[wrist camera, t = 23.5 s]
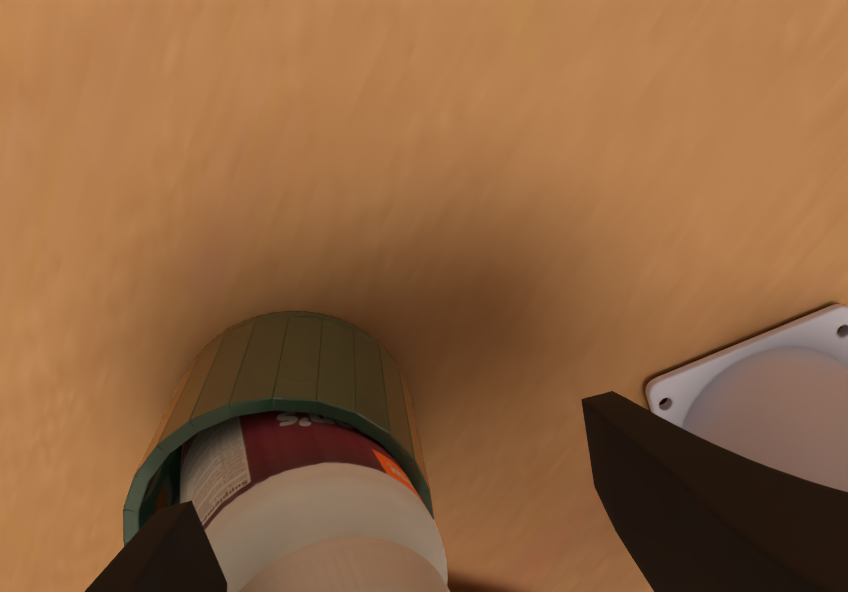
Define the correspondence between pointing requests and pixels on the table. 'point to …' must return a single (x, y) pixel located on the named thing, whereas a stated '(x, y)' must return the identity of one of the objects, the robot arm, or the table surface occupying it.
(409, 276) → the table surface
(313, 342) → the green round pot
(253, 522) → the pill bottle
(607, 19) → the table surface
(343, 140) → the table surface
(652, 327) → the table surface
